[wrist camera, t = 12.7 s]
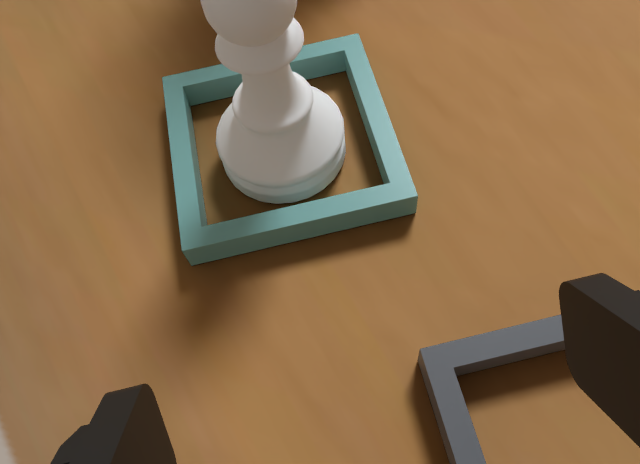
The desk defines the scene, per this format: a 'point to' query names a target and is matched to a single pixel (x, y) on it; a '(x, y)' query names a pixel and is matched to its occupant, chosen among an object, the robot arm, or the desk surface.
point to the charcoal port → (474, 356)
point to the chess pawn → (272, 105)
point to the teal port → (297, 219)
